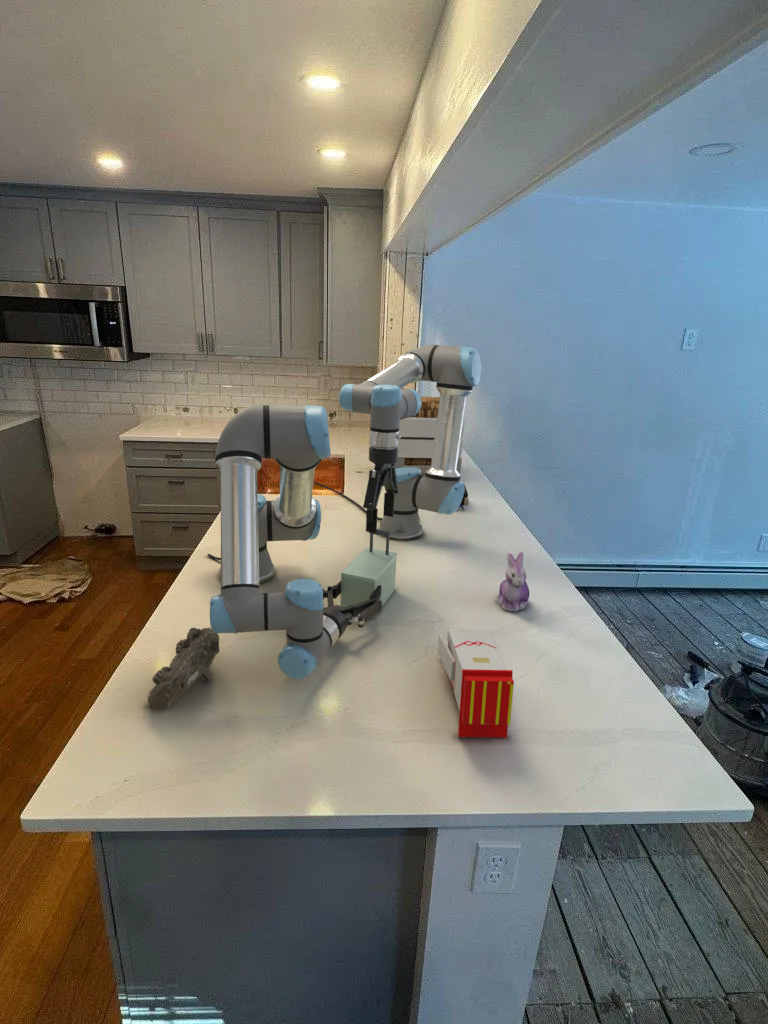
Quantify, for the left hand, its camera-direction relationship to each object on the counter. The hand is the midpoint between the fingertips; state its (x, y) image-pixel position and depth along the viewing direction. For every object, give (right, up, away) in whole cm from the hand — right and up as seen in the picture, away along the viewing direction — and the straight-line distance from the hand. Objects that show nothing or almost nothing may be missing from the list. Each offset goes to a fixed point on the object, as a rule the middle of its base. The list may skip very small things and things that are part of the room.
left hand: (361, 586), depth 147 cm
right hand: (+5, +16, +6) cm, 18 cm away
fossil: (-35, -16, -28) cm, 47 cm away
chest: (+2, -5, +7) cm, 9 cm away
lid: (+2, +5, +4) cm, 7 cm away
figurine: (+41, -6, +8) cm, 42 cm away
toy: (+24, -18, -28) cm, 41 cm away
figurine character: (+36, +22, +85) cm, 94 cm away
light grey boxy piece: (+23, +38, +128) cm, 136 cm away
